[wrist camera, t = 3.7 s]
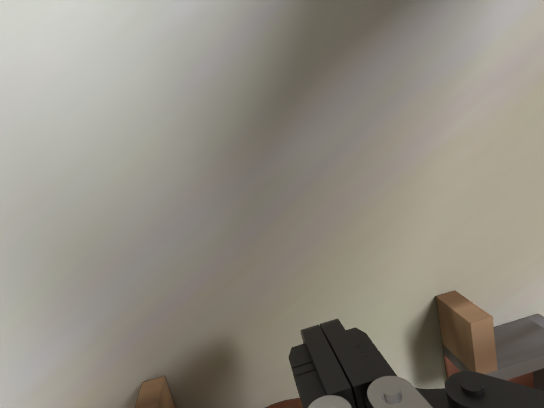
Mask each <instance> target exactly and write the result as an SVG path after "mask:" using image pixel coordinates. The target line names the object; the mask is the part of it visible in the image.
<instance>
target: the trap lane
mask: <svg viewBox="0 0 544 408" xmlns="http://www.w3.org/2000/svg"><path fill="white" fill-rule="evenodd" d="M436 300H437V308H438V315H439V322H440V330H441V337H442V344H443V352H444V359H445V366H446V374H447V379H448V377H450V376H451V375H452V374H454V373H457V372H461V371H473V372H478V373H482V374H485V375H489V376H492V377H496V378H499V379H503V380H506V381H510V382H513V383H517V384H520V385H524V386H527V387H531V388H534V389H538V390H541V391H544V317H543V316H541V315H540V314H536V315H532V316H529V317H526V318H523V319H519V320H516V321H513V322H510V323H506V324H503V325H500V326H497V327H493V317H492V316H491V315H489V314H488V313H486V312H485V311H483V310H482V309H481V308H479V307H478V306H476V305H475V304H473V303H472V302H471V301H469V300H468V299H466V298H465V297H463V296H462V295H461V294H459V293H458V292H456V291H452V292H448V293H445V294H441V295H438V296H436ZM135 408H176V407H175V404H174V401H173V399H172V396H171V393H170V390H169V387H168V385H167V382H166V379H165V376H163V377H159V378H156V379H152V380H149V381H146V382H143V383H142V386H141V389H140V392H139V396H138V399H137V402H136V405H135Z"/></svg>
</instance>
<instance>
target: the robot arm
mask: <svg viewBox="0 0 544 408" xmlns="http://www.w3.org/2000/svg"><path fill="white" fill-rule="evenodd" d="M301 335H302V339H303V343H304V344H302V345H298V346H295V347H292V348H291V352H290V355H289V360H290V364H291V368H292V371H293V375H294V379H295V382H296V386H297V390H298V393H299V397H300V400H301V403H302V407H303V408H544V391H541V390H538V389H534V388H531V387H527V386H524V385H520V384H517V383H513V382H510V381H506V380H503V379H499V378H496V377H492V376H489V375H485V374H482V373H478V372H473V371H461V372H457V373H454V374H452V375H451V376H450V377H448V379H447V380H446V383H445V388H444V389H419V388H415V387H414V386H413V385H412V384H411V383H410V382H409V381H407V380H405V379H403V378H401V377H397V375H396V374H395V372H394V371H393V370H392V368H391V367H390V366H389V364H388V363H387V361H386V360H385V359H384V357H383V356H382V355H381V353H380V352H379V351H378V350H377V348H376V346H375V345H374V344H373V343H372V341H371V340H370V338H369V337H368V335H367V334H366V333H364V332H363V331H361V330H359V329H357V328H352V329H349V330H345V329H344V327H343V326H342V324H341V323H340V321H339V320H338V319H335V320H332V321H328V322H325V323H322V324H320V326H319V325H316V326H313V327H309V328H306V329H303V330H301Z"/></svg>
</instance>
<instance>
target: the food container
mask: <svg viewBox="0 0 544 408" xmlns="http://www.w3.org/2000/svg"><path fill="white" fill-rule="evenodd" d="M266 408H303V407H302V403H301V400H300V398H295V399H290V400H285V401H281V402H278V403H275V404H272V405H270V406H268V407H266Z"/></svg>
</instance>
